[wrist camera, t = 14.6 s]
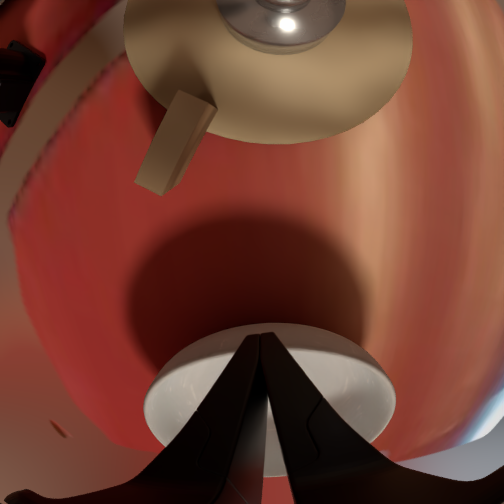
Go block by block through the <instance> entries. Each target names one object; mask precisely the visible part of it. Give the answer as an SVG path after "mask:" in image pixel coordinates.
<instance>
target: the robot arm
mask: <svg viewBox="0 0 504 504" xmlns="http://www.w3.org/2000/svg"><path fill="white" fill-rule="evenodd" d="M39 63H40V65H39ZM44 65H45V60H44V59H43V58H41V57H40V56H39V55H37V54H36V53H34V52H33V51H31V50H30V49H28V48H27V47H25V46H24V45H22V44H21V43H19V42H18V41H15V40H13V41H11V42H10V44H9V45H8V47H7V49H4V48H0V120H1V121H2V122H3V123H4V124H5V125H6V126H7V127H8V128H9V127H13V126H14V125H15V123H16V120H17V118H18V116H19V113H20V111H21V109H22V107H23V105H24V103H25V101H26V99H27V97H28V95H29V93H30V91H31V89H32V87H33V85H34V83H35V81H36V79H37V78H38V76H39V74H40V72H41V71H42V69H43V67H44ZM268 399H269V403H270V407H271V412H272V416H273V420H274V424H275V428H276V432H277V437H278V441H279V445H280V449H281V453H282V457H283V461H284V465H285V469H286V473H287V477H288V481H289V485H290V489H291V493H292V497H293V500H294V504H504V465H503V466H502V467H500V468H499V469H497V470H496V471H494V472H493V473H491V474H490V475H488V476H486V477H485V478H482V479H479V480H475V481H457V480H452V479H448V478H443V477H439V476H435V475H431V474H427V473H423V472H419V471H416V470H412V469H409V468H405V467H402V466H400V465H398V464H396V463H394V462H392V461H391V460H389V459H388V458H387V457H385V456H384V455H383V454H381V453H380V452H379V451H378V450H377V449H376V448H375V447H373V446H372V445H371V444H370V443H369V442H368V441H366V440H365V439H364V438H363V437H362V436H361V435H360V434H358V433H357V432H356V431H355V430H354V429H353V428H352V427H351V426H350V425H349V424H348V423H347V422H346V421H344V420H343V419H342V418H341V416H340V415H339V414H338V413H337V412H336V411H335V410H334V408H333V407H332V406H331V405H330V404H329V402H328V401H327V400H326V399H325V398H324V397H323V395H322V394H321V392H320V391H319V390H318V389H317V387H316V386H315V385H314V384H313V382H312V381H311V380H310V378H309V377H308V376H307V375H306V373H305V372H304V371H303V369H302V368H301V367H300V366H299V364H298V363H297V362H296V360H295V359H294V358H293V356H292V355H291V354H290V353H289V351H288V350H287V349H286V347H285V346H284V345H283V343H282V342H281V341H280V339H279V338H278V337H277V335H276V334H275V333H274V332H265V333H261V335H260V334H250V335H247V336H246V337H245V338H244V340H243V341H242V343H241V344H240V346H239V347H238V349H237V350H236V352H235V353H234V355H233V356H232V358H231V359H230V361H229V362H228V364H227V365H226V367H225V368H224V370H223V371H222V373H221V374H220V376H219V377H218V379H217V380H216V382H215V383H214V384H213V386H212V387H211V389H210V390H209V392H208V393H207V395H206V396H205V398H204V399H203V400H202V402H201V403H200V405H199V406H198V408H197V411H195V412H194V413H193V414H192V416H191V417H190V419H189V420H188V421H187V423H186V424H185V425H184V427H183V428H182V429H181V430H180V432H179V433H178V434H177V435H176V436H175V437H174V439H173V440H172V441H171V442H170V443H169V444H168V445H167V446H166V447H165V448H164V449H163V450H162V451H161V452H160V453H159V454H158V455H157V457H156V458H155V459H154V460H153V461H152V462H151V463H150V464H149V465H148V466H147V467H146V468H145V469H144V470H143V471H141V472H140V473H139V474H138V475H137V476H135V477H134V478H133V479H131V480H129V481H128V482H126V483H123V484H121V485H117V486H114V487H110V488H107V489H103V490H100V491H96V492H92V493H87V494H83V495H78V496H74V497H69V498H63V499H52V498H46V497H43V496H41V495H39V494H37V493H35V492H33V491H31V490H29V489H24V490H21V491H16V492H13V493H11V494H9V495H8V496H7V497H6V498H5V499H4V501H5V502H6V503H8V504H261V499H262V487H263V475H264V461H265V446H266V430H267V414H268ZM0 504H1V503H0Z"/></svg>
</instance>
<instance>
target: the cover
mask: <svg viewBox="0 0 504 504" xmlns="http://www.w3.org/2000/svg"><path fill="white" fill-rule="evenodd" d="M216 2H217V6H218V9H219V12H220V16H221V19H222V22H223V24H224V26H225V28H226V29H227V31H228V32H229V33H230V34H231V35H232V36H233V37H234V38H235V39H236V40H237V41H239V42H240V43H242V44H243V45H245V46H247V47H249V48H251V49H253V50H256V51H259V52H263V53H267V54H274V55H292V54H297V53H302V52H305V51H308V50H310V49H312V48H314V47H316V46H317V45H319V44H320V43H321V42H323V41H324V40H325V39H326V37H327V36H328V35H329V34H330V33H331V32H332V30H333V29H334V28H335V27H336V26H337V25H338V23H339V22H340V20H341V19H342V17H343V15H344V12H345V7H346V0H216Z"/></svg>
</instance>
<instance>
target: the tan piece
mask: <svg viewBox="0 0 504 504" xmlns="http://www.w3.org/2000/svg"><path fill="white" fill-rule="evenodd" d="M123 33H124V43H125V48H126V52H127V56H128V59H129V62H130V64H131V66H132V68H133V70H134V72H135V74H136V76H137V77H138V79H139V80H140V82H141V83H142V85H143V86H144V88H145V89H146V90H147V91H148V92H149V93H150V94H151V95H152V96H153V98H154V99H155V100H156V101H157V102H159V103H160V104H161V105H162V106H164V107H165V108H166V109H167V112H166V114H165V116H164V118H163V120H162V122H161V124H160V126H159V128H158V130H157V132H156V134H155V136H154V138H153V140H152V143H151V145H150V147H149V149H148V151H147V154H146V156H145V158H144V160H143V163H142V165H141V167H140V170H139V172H138V174H137V177H136V179H135V182H134V183H136V184H138V185H140V186H142V187H144V188H146V189H148V190H150V191H152V192H154V193H156V194H158V195H160V196H162V195H164V194H165V193H166V192H168V191H169V190H171V189H172V188H173V187H175V186H176V185H177V184H179V183H180V181H181V179H182V177H183V175H184V173H185V171H186V169H187V167H188V165H189V163H190V161H191V159H192V157H193V155H194V153H195V151H196V149H197V147H198V146H199V144H200V142H201V140H202V138H203V136H204V134H205V132H206V131H207V132H210V133H213V134H216V135H219V136H222V137H225V138H230V139H235V140H240V141H244V142H252V143H262V144H293V143H302V142H310V141H315V140H319V139H323V138H327V137H331V136H334V135H336V134H339V133H342V132H344V131H347V130H349V129H351V128H353V127H355V126H357V125H359V124H361V123H363V122H364V121H366V120H367V119H369V118H370V117H371V116H373V115H374V114H376V113H377V112H378V111H379V110H380V109H381V108H382V107H383V106H384V105H385V104H386V103H387V102H389V101H390V99H391V98H392V97H393V95H394V94H395V93H396V91H397V90H398V89H399V87H400V85H401V83H402V81H403V79H404V77H405V75H406V73H407V70H408V67H409V63H410V60H411V53H412V27H411V22H410V17H409V14H408V10H407V7H406V5H405V2H404V0H346V7H345V12H344V15H343V17H342V19H341V20H340V22H339V23H338V25H337V26H336V27H335V28H334V29H333V30H332V32H331V33H330V34H329V35H328V36H327V37H326V39H325V40H324V41H323V42H321V43H320V44H319V45H317V46H316V47H314V48H312V49H310V50H308V51H305V52H302V53H297V54H292V55H274V54H267V53H263V52H259V51H256V50H253V49H251V48H249V47H247V46H245V45H243V44H242V43H240V42H239V41H237V40H236V39H235V38H234V37H233V36H232V35H231V34H230V33H229V32H228V31H227V29H226V28H225V26H224V24H223V22H222V19H221V16H220V12H219V9H218V6H217V2H216V0H128V3H127V7H126V11H125V15H124V27H123Z"/></svg>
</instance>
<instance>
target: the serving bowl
mask: <svg viewBox="0 0 504 504" xmlns="http://www.w3.org/2000/svg"><path fill="white" fill-rule="evenodd" d="M265 332H274V333H275V334H276V335H277V337H278V338H279V339H280V341H281V342H282V343H283V345H284V346H285V347H286V349H287V350H288V351H289V353H290V354H291V355H292V356H293V358H294V359H295V360H296V362H297V363H298V364H299V366H300V367H301V368H302V369H303V371H304V372H305V373H306V375H307V376H308V377H309V378H310V380H311V381H312V382H313V384H314V385H315V386H316V387H317V389H318V390H319V391H320V392H321V394H322V395H323V397H324V398H325V399H326V400H327V401H328V402H329V404H330V405H331V406H332V407H333V408H334V410H335V411H336V412H337V413H338V414H339V415H340V416H341V418H342V419H343V420H344V421H346V422H347V423H348V424H349V425H350V426H351V427H352V428H353V429H354V430H355V431H356V432H357V433H358V434H360V435H361V436H362V437H363V438H364V439H365V440H366V441H368V442H369V443H371V442H372V441H373V440H374V439H375V438H377V437H378V436H379V434H380V433H381V432H382V431H383V430H384V429H385V427H386V426H387V424H388V423H389V421H390V419H391V417H392V415H393V413H394V409H395V404H396V394H395V389H394V386H393V384H392V382H391V380H390V379H389V377H388V376H387V374H386V373H385V371H384V370H383V369H382V367H381V366H380V365H379V363H378V362H377V361H376V360H375V359H374V358H373V357H372V356H371V355H370V354H369V353H368V352H367V351H365V350H364V349H363V348H361V347H360V346H359V345H357V344H356V343H354V342H352V341H351V340H349V339H347V338H345V337H343V336H341V335H338V334H336V333H333V332H330V331H328V330H324V329H321V328H317V327H312V326H307V325H301V324H291V323H260V324H251V325H244V326H239V327H234V328H230V329H226V330H223V331H219V332H216V333H214V334H211V335H208V336H206V337H204V338H201V339H199V340H198V341H196V342H194V343H192V344H190V345H189V346H187V347H185V348H184V349H182V350H181V351H180V352H178V353H177V354H176V355H175V356H174V357H172V358H171V359H170V360H169V361H168V362H167V363H166V364H165V366H164V367H163V368H162V369H161V370H160V372H159V373H158V374H157V376H156V377H155V379H154V381H153V382H152V384H151V385H150V387H149V389H148V391H147V393H146V396H145V399H144V415H145V419H146V422H147V424H148V426H149V428H150V430H151V431H152V433H153V434H154V435H155V437H156V438H157V439H158V440H159V441H160V442H161V443H162V444H163V445H164V446H165V447H166V446H167V445H168V444H169V443H170V442H171V441H172V440H173V439H174V437H175V436H176V435H177V434H178V433H179V432H180V430H181V429H182V428H183V427H184V425H185V424H186V423H187V421H188V420H189V419H190V417H191V416H192V414H193V413H194V412H195V411H197V408H198V406H199V405H200V403H201V402H202V400H203V399H204V398H205V396H206V395H207V393H208V392H209V390H210V389H211V387H212V386H213V384H214V383H215V382H216V380H217V379H218V377H219V376H220V374H221V373H222V371H223V370H224V368H225V367H226V365H227V364H228V362H229V361H230V359H231V358H232V356H233V355H234V353H235V352H236V350H237V349H238V347H239V346H240V344H241V343H242V341H243V340H244V338H245V337H246V336H247V335H250V334H260V335H261V333H265ZM278 476H287V473H286V469H285V465H284V461H283V457H282V453H281V449H280V445H279V441H278V437H277V432H276V428H275V424H274V420H273V416H272V412H271V407H270V403H269V399H268V414H267V430H266V446H265V461H264V475H263V477H278Z"/></svg>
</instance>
